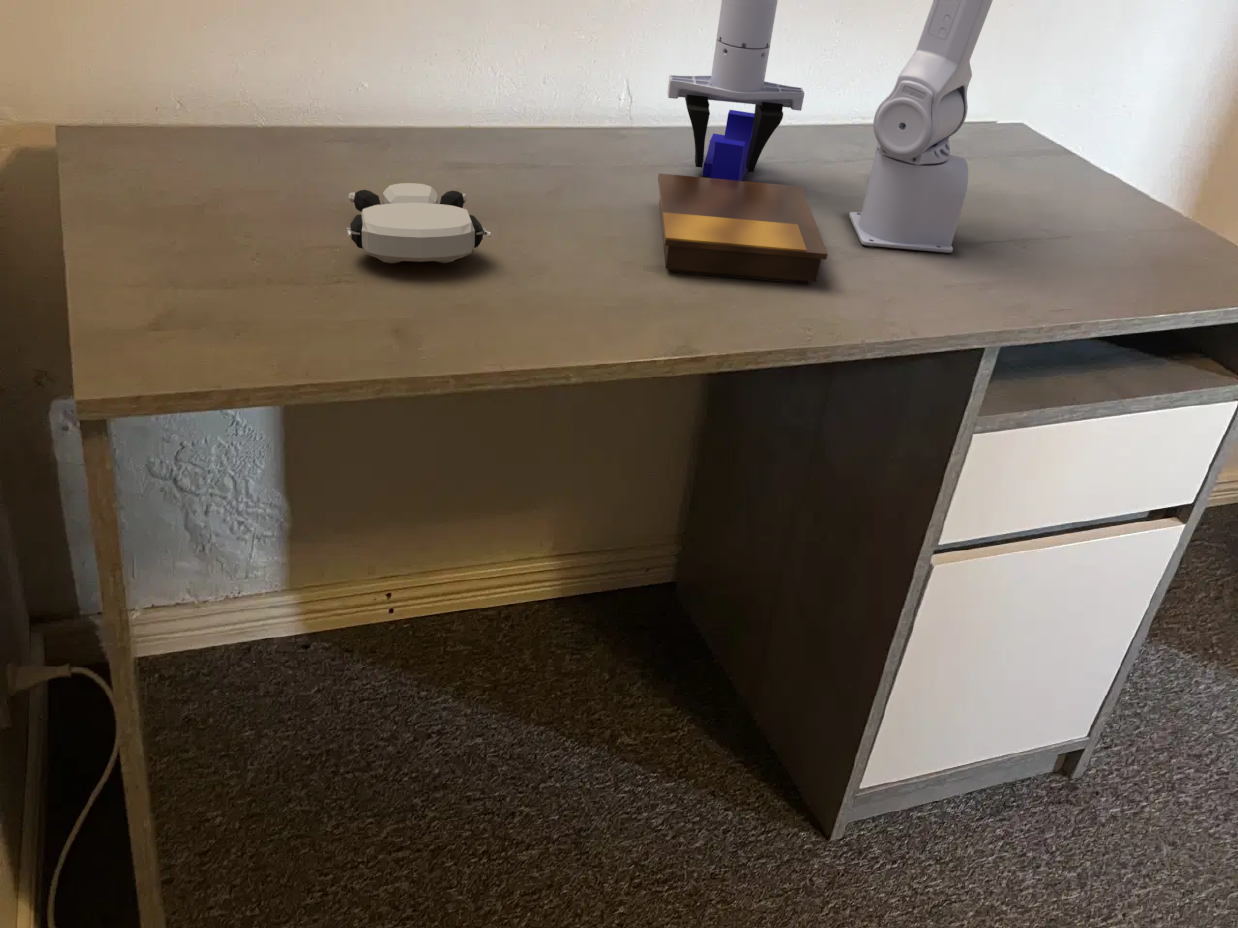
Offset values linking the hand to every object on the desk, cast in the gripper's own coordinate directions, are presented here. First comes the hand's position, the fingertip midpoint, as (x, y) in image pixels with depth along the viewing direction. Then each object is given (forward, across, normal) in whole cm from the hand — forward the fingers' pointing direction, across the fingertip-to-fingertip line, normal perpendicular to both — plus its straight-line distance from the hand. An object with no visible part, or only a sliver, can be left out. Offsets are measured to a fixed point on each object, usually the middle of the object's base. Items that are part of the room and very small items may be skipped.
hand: (724, 166), depth 128 cm
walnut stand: (+1, 0, +18) cm, 19 cm away
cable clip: (+2, 0, 0) cm, 2 cm away
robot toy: (+2, +31, +25) cm, 40 cm away
